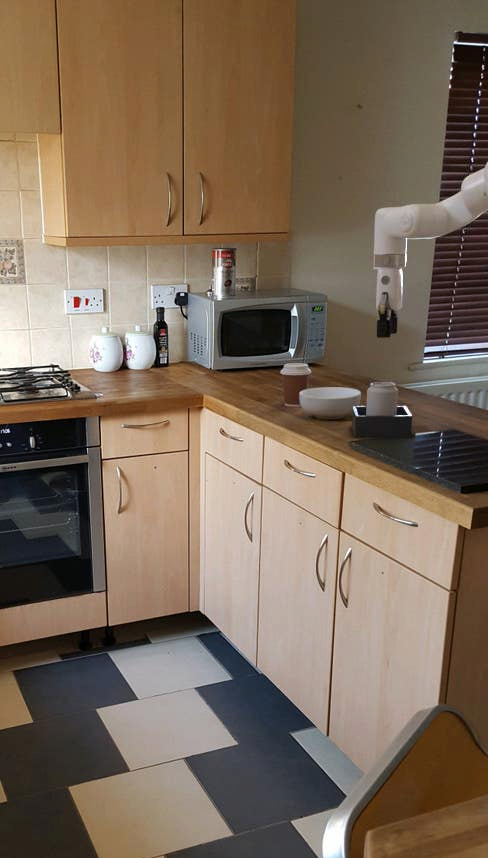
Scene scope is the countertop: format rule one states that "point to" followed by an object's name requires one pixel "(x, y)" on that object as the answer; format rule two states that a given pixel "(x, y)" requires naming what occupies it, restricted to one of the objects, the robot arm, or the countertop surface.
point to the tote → (381, 424)
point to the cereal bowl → (329, 401)
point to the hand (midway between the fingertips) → (386, 335)
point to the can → (382, 399)
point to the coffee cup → (294, 382)
